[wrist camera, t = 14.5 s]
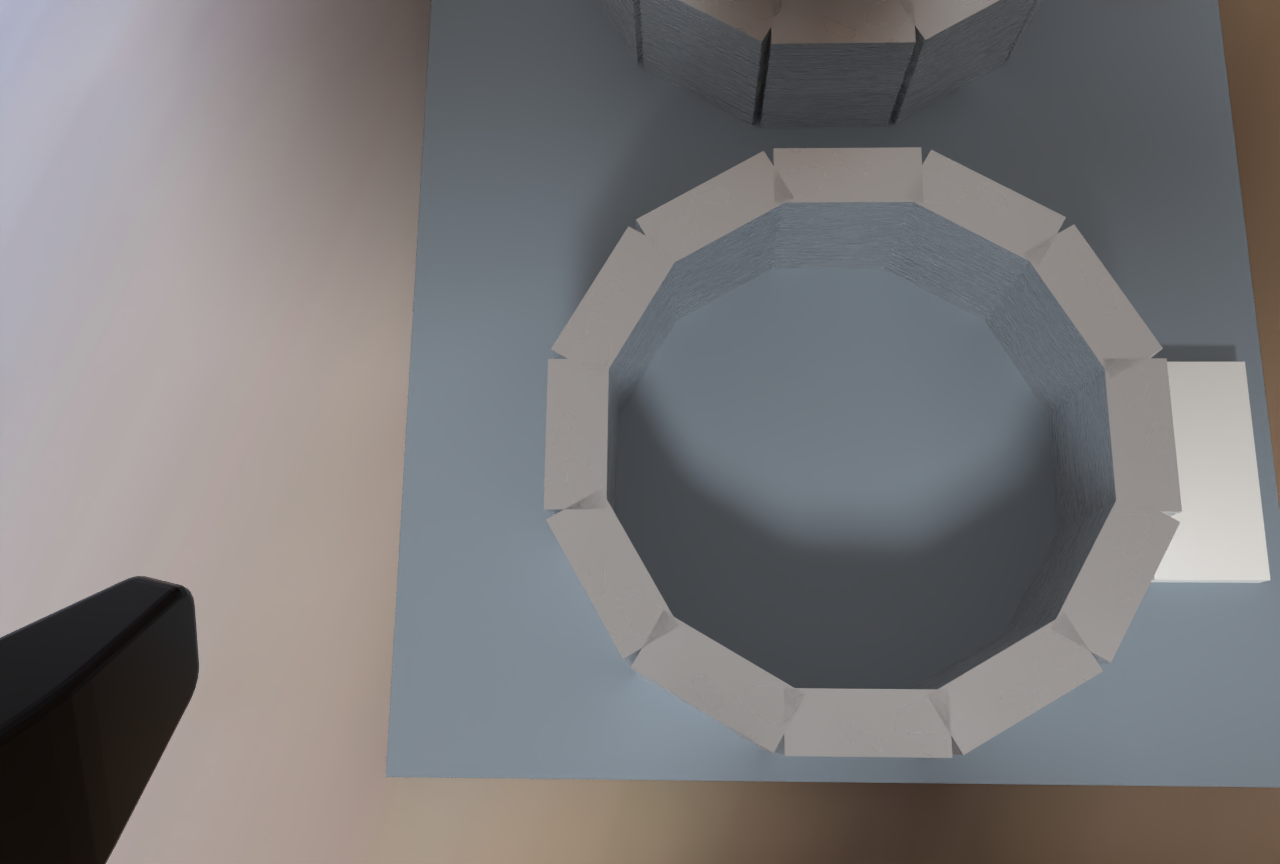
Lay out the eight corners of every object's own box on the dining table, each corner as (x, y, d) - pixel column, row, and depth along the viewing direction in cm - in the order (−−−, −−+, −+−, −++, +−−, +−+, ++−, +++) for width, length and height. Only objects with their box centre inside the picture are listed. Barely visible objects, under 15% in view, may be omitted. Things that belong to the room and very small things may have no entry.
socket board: (1283, 784, 21) (1418, 798, 17) (398, 774, 22) (338, 785, 18) (1162, -278, 27) (1243, -448, 23) (457, -264, 27) (420, -427, 23)
